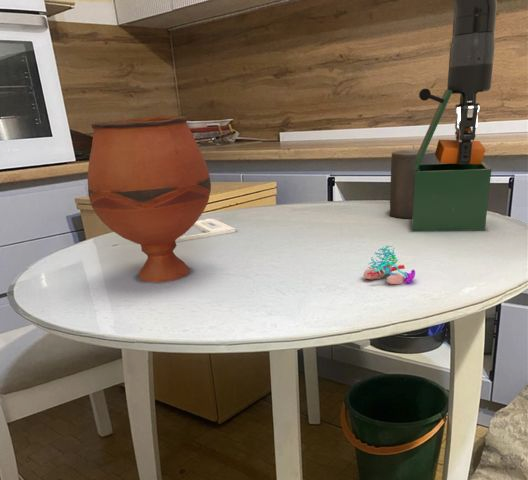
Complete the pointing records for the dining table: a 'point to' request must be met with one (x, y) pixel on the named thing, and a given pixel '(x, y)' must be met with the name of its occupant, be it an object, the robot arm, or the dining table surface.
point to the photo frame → (208, 229)
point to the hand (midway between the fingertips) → (462, 162)
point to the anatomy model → (388, 269)
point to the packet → (450, 150)
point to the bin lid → (426, 95)
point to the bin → (450, 197)
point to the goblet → (149, 187)
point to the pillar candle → (405, 180)
